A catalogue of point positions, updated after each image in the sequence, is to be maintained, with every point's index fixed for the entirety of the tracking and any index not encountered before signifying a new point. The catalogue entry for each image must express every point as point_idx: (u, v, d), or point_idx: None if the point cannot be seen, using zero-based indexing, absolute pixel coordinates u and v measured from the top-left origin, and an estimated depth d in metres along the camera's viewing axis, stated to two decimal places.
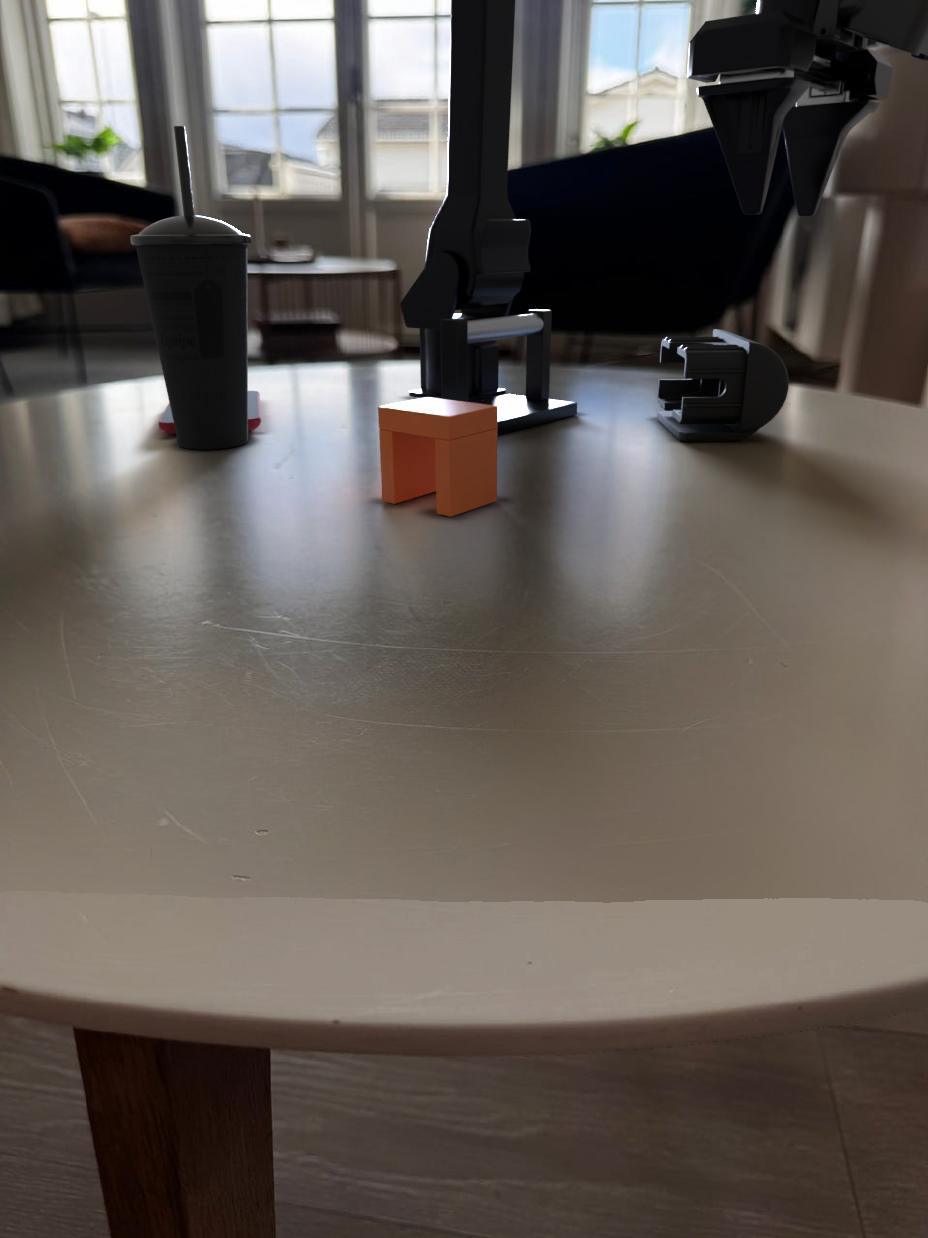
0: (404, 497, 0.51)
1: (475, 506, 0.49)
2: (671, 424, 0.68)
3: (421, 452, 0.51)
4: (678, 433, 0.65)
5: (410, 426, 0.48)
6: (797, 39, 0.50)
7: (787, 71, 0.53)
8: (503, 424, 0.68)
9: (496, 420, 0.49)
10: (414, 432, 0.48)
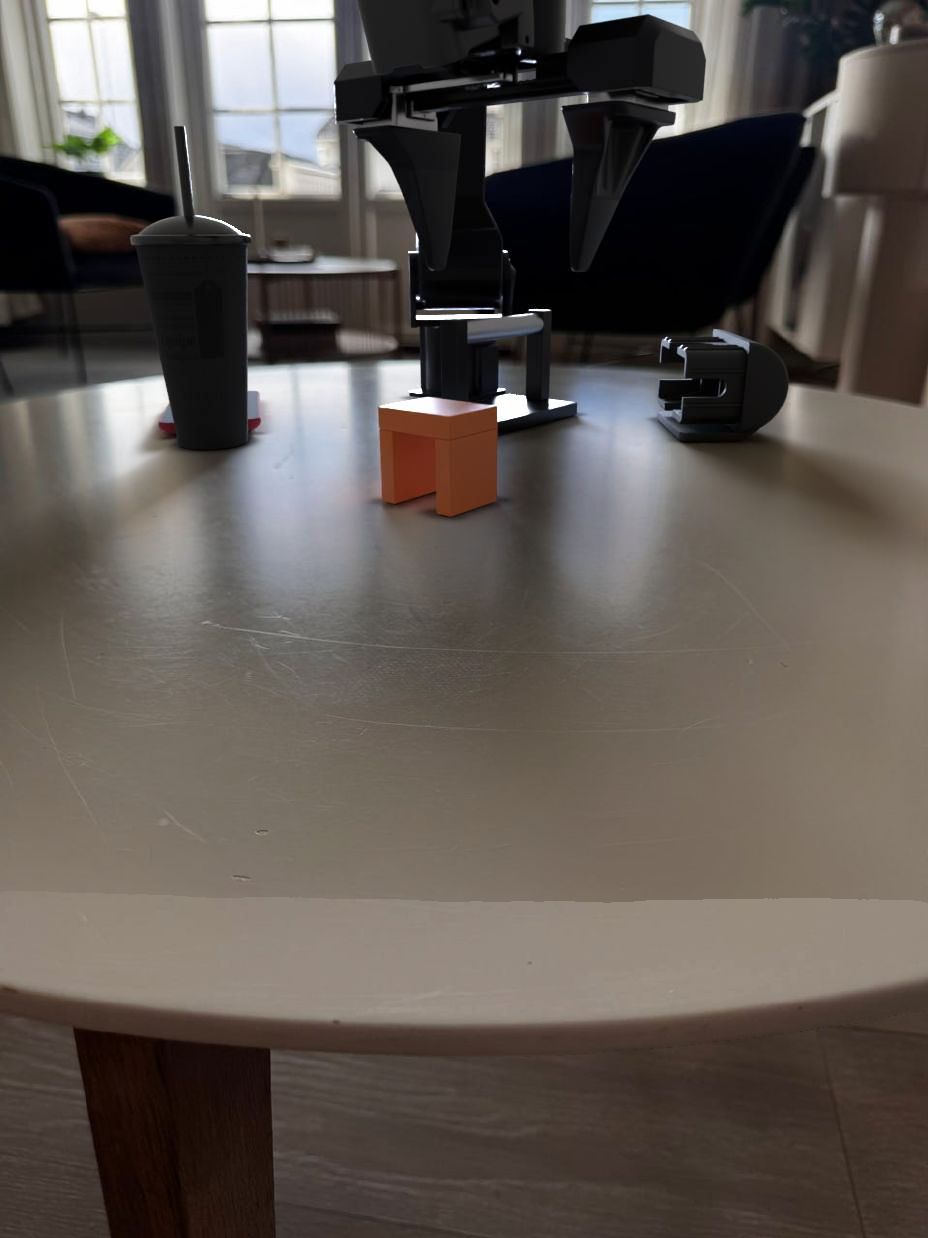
0: (404, 497, 0.51)
1: (475, 506, 0.49)
2: (671, 424, 0.68)
3: (421, 452, 0.51)
4: (678, 433, 0.65)
5: (410, 426, 0.48)
6: (342, 92, 0.48)
7: (378, 118, 0.48)
8: (503, 424, 0.68)
9: (496, 420, 0.49)
10: (414, 432, 0.48)
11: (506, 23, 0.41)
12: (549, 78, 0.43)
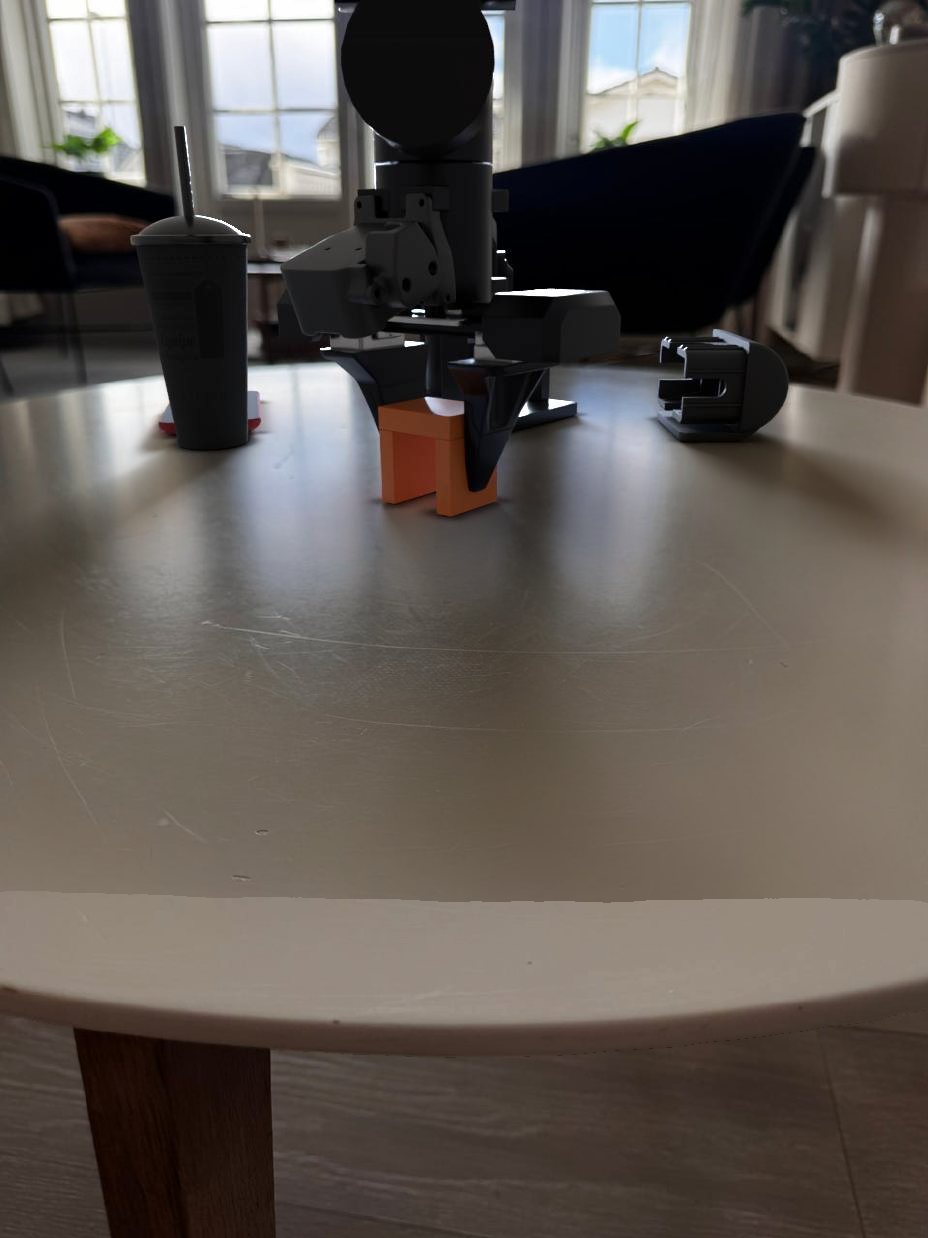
0: (404, 497, 0.51)
1: (475, 506, 0.49)
2: (671, 424, 0.68)
3: (421, 452, 0.51)
4: (678, 433, 0.65)
5: (410, 426, 0.48)
6: (284, 314, 0.50)
7: (344, 340, 0.49)
8: None
9: None
10: (414, 432, 0.48)
11: None
12: None
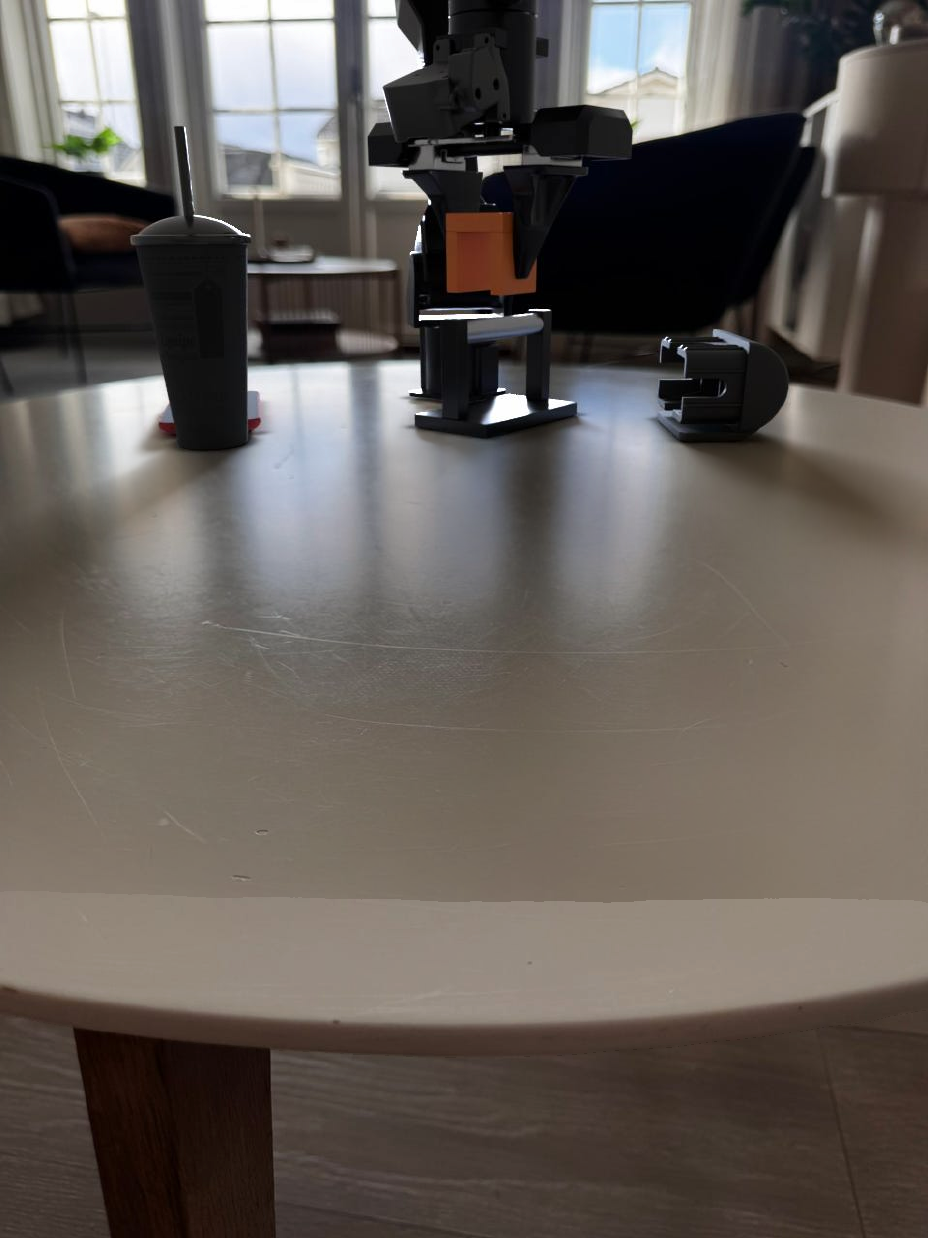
0: (464, 288, 0.66)
1: (519, 291, 0.65)
2: (671, 424, 0.68)
3: (477, 254, 0.66)
4: (678, 433, 0.65)
5: (471, 225, 0.63)
6: (373, 144, 0.65)
7: (420, 162, 0.64)
8: (503, 424, 0.68)
9: None
10: (474, 229, 0.63)
11: None
12: (498, 142, 0.61)
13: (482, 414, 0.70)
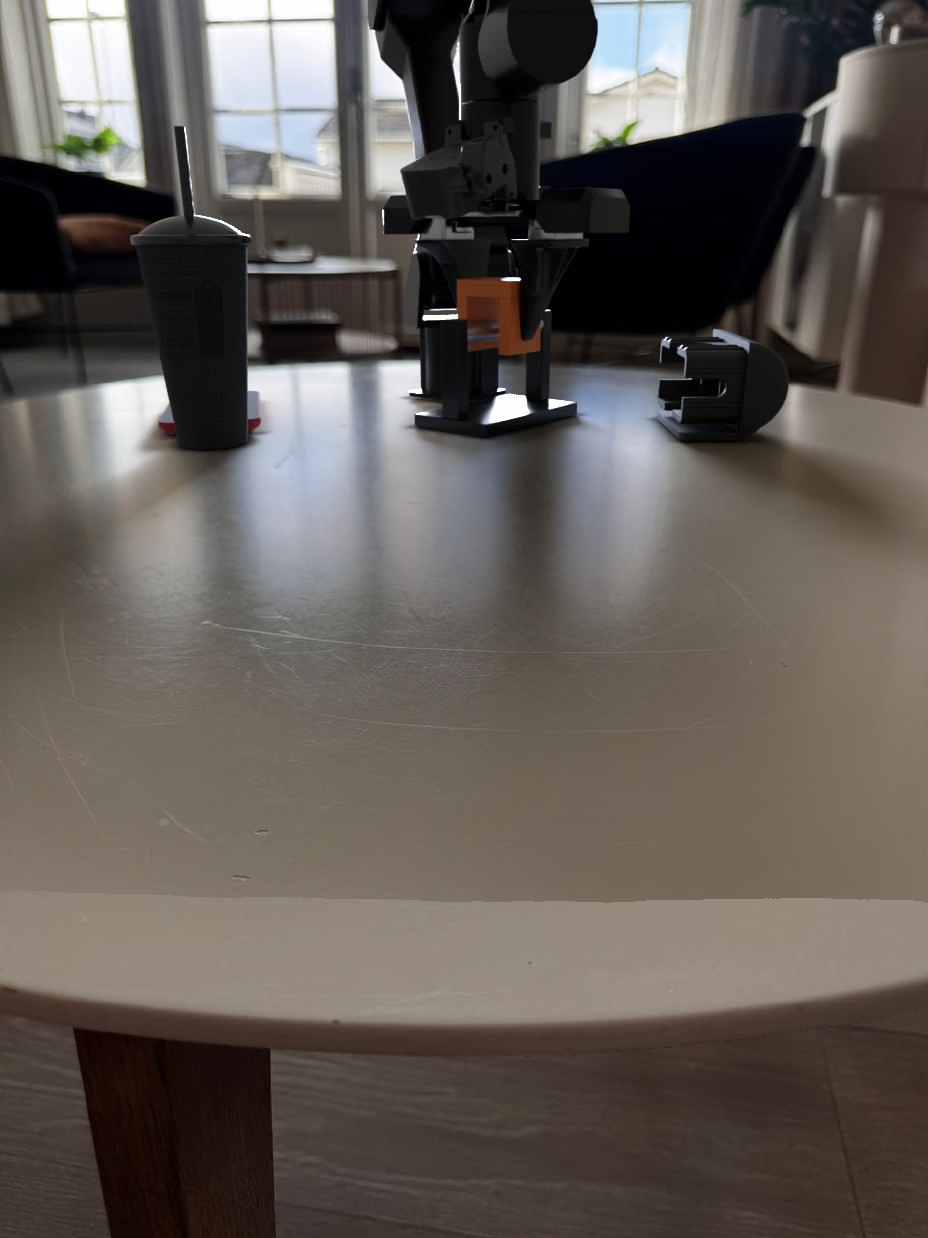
0: (473, 347, 0.71)
1: (525, 351, 0.69)
2: (671, 424, 0.68)
3: (485, 315, 0.71)
4: (678, 433, 0.65)
5: (481, 291, 0.68)
6: (388, 215, 0.70)
7: (432, 233, 0.69)
8: (503, 424, 0.68)
9: None
10: (483, 295, 0.68)
11: None
12: (505, 216, 0.66)
13: (482, 414, 0.70)
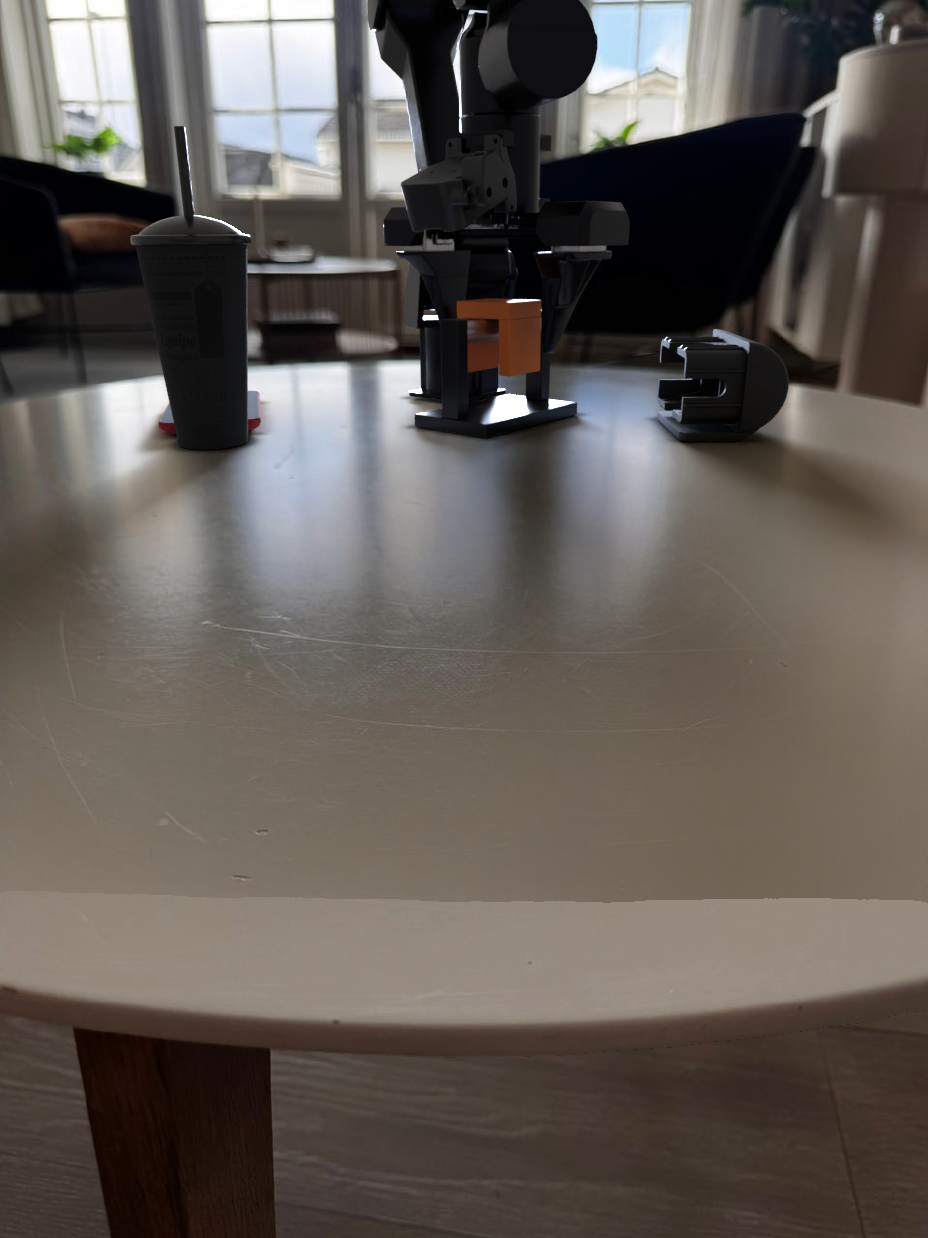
0: (474, 368, 0.71)
1: (525, 371, 0.70)
2: (671, 424, 0.68)
3: None
4: (678, 433, 0.65)
5: (480, 313, 0.68)
6: (389, 227, 0.70)
7: None
8: (503, 424, 0.68)
9: (540, 310, 0.70)
10: (483, 317, 0.68)
11: None
12: (527, 228, 0.66)
13: (482, 414, 0.70)
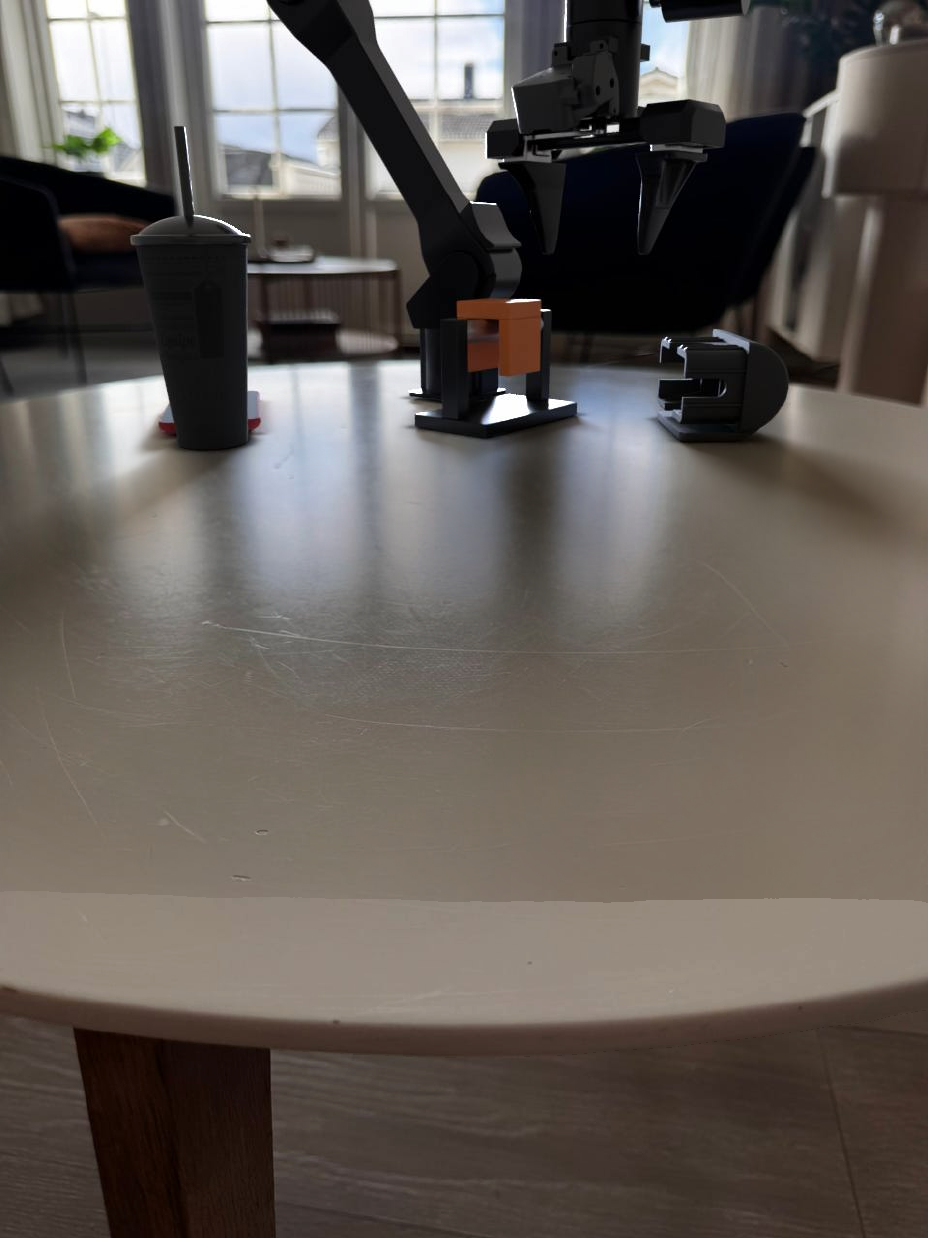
0: (474, 368, 0.71)
1: (525, 371, 0.70)
2: (671, 424, 0.68)
3: None
4: (678, 433, 0.65)
5: (480, 313, 0.68)
6: (491, 139, 0.74)
7: (514, 155, 0.74)
8: (503, 424, 0.68)
9: (540, 310, 0.70)
10: (483, 317, 0.68)
11: None
12: (627, 132, 0.69)
13: (482, 414, 0.70)
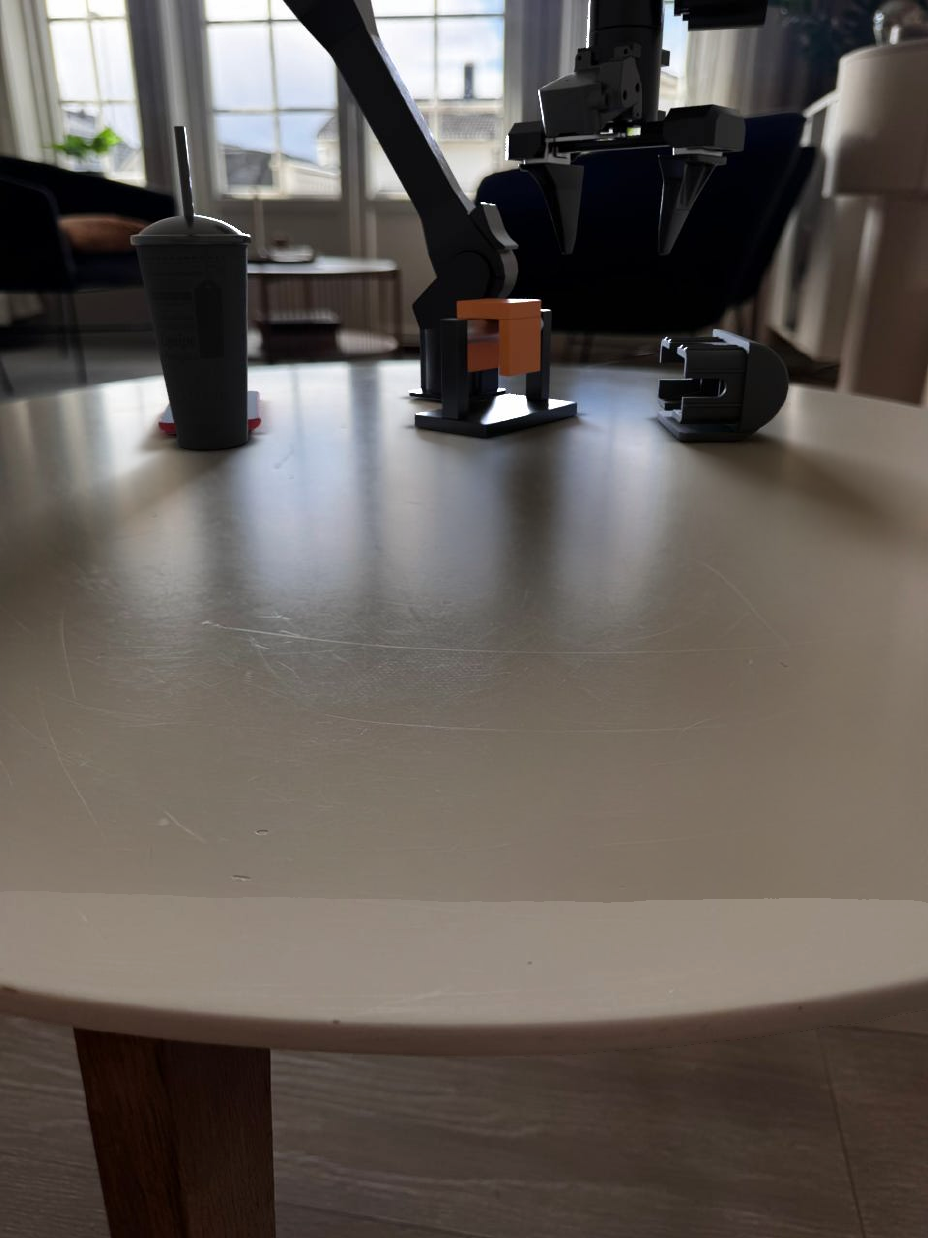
0: (474, 368, 0.71)
1: (525, 371, 0.70)
2: (671, 424, 0.68)
3: None
4: (678, 433, 0.65)
5: (480, 313, 0.68)
6: (513, 141, 0.76)
7: (535, 157, 0.76)
8: (503, 424, 0.68)
9: (540, 310, 0.70)
10: (483, 317, 0.68)
11: None
12: (648, 136, 0.71)
13: (482, 414, 0.70)
